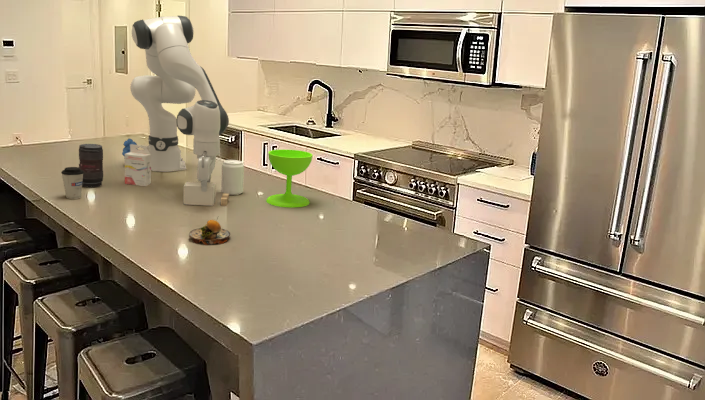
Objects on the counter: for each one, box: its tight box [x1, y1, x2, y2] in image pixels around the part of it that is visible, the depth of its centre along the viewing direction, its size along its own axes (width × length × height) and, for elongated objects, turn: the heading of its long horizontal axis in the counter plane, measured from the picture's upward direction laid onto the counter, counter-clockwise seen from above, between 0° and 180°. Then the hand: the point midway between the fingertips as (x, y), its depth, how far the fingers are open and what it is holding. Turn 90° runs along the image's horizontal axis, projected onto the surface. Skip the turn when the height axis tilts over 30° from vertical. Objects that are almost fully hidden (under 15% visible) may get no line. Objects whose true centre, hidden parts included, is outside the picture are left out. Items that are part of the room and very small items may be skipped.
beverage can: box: [220, 159, 245, 196], centre depth 224 cm, size 8×8×12 cm
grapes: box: [121, 138, 138, 160], centre depth 253 cm, size 12×7×12 cm, turn 49°
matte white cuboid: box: [183, 181, 217, 206], centre depth 208 cm, size 7×10×7 cm
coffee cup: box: [61, 166, 84, 200], centre depth 203 cm, size 7×7×10 cm
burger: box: [188, 217, 231, 246], centre depth 173 cm, size 12×12×8 cm
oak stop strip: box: [220, 192, 230, 207], centre depth 211 cm, size 8×2×2 cm, turn 6°
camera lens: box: [78, 143, 104, 188], centre depth 219 cm, size 8×8×15 cm
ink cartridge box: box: [124, 144, 152, 187], centre depth 226 cm, size 9×5×15 cm, turn 84°
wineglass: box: [265, 148, 313, 209], centre depth 218 cm, size 16×16×18 cm
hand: (206, 187), depth 209 cm, fingers open, 8 cm apart
